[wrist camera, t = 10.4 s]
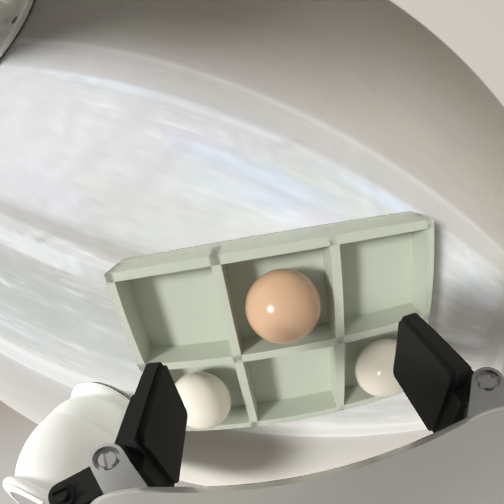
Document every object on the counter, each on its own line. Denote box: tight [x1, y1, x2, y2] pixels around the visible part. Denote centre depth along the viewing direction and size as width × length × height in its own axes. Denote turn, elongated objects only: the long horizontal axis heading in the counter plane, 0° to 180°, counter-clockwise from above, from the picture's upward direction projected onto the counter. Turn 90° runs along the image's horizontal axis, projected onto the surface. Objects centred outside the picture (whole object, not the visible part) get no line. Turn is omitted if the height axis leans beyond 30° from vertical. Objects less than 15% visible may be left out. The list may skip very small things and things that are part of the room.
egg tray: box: [104, 211, 434, 431], centre depth 20 cm, size 15×22×3 cm
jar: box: [2, 382, 130, 504], centre depth 17 cm, size 11×10×15 cm
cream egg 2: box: [355, 338, 402, 397], centre depth 19 cm, size 5×5×5 cm
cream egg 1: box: [175, 371, 231, 429], centre depth 20 cm, size 5×5×5 cm
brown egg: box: [245, 269, 321, 344], centre depth 18 cm, size 5×5×5 cm
